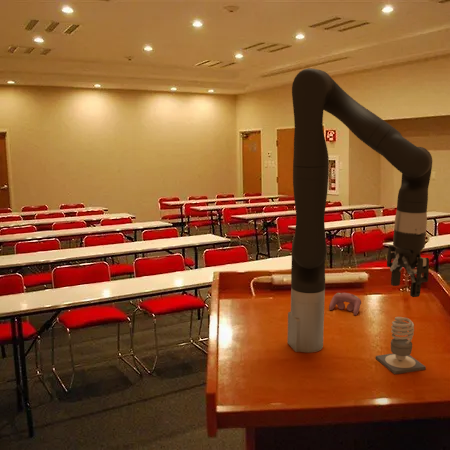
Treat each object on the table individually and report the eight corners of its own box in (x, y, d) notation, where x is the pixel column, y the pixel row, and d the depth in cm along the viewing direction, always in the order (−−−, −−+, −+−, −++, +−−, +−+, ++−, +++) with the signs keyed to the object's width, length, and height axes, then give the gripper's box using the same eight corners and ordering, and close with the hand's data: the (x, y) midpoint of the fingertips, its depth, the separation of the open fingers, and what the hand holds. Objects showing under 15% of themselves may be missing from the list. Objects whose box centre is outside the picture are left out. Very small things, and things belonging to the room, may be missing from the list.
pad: (394, 374, 135) (394, 371, 135) (375, 358, 143) (375, 355, 143) (425, 369, 137) (425, 366, 137) (405, 354, 146) (405, 351, 145)
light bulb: (415, 360, 140) (418, 317, 138) (405, 367, 136) (409, 323, 134) (395, 353, 144) (398, 311, 141) (385, 360, 140) (388, 317, 137)
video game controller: (360, 317, 176) (363, 296, 177) (356, 315, 172) (360, 294, 173) (331, 311, 181) (335, 291, 182) (327, 309, 177) (331, 289, 178)
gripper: (381, 223, 138) (376, 283, 141) (414, 236, 125) (408, 301, 128) (406, 222, 140) (401, 281, 143) (441, 234, 126) (435, 299, 130)
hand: (404, 290), depth 136 cm, fingers open, 8 cm apart
